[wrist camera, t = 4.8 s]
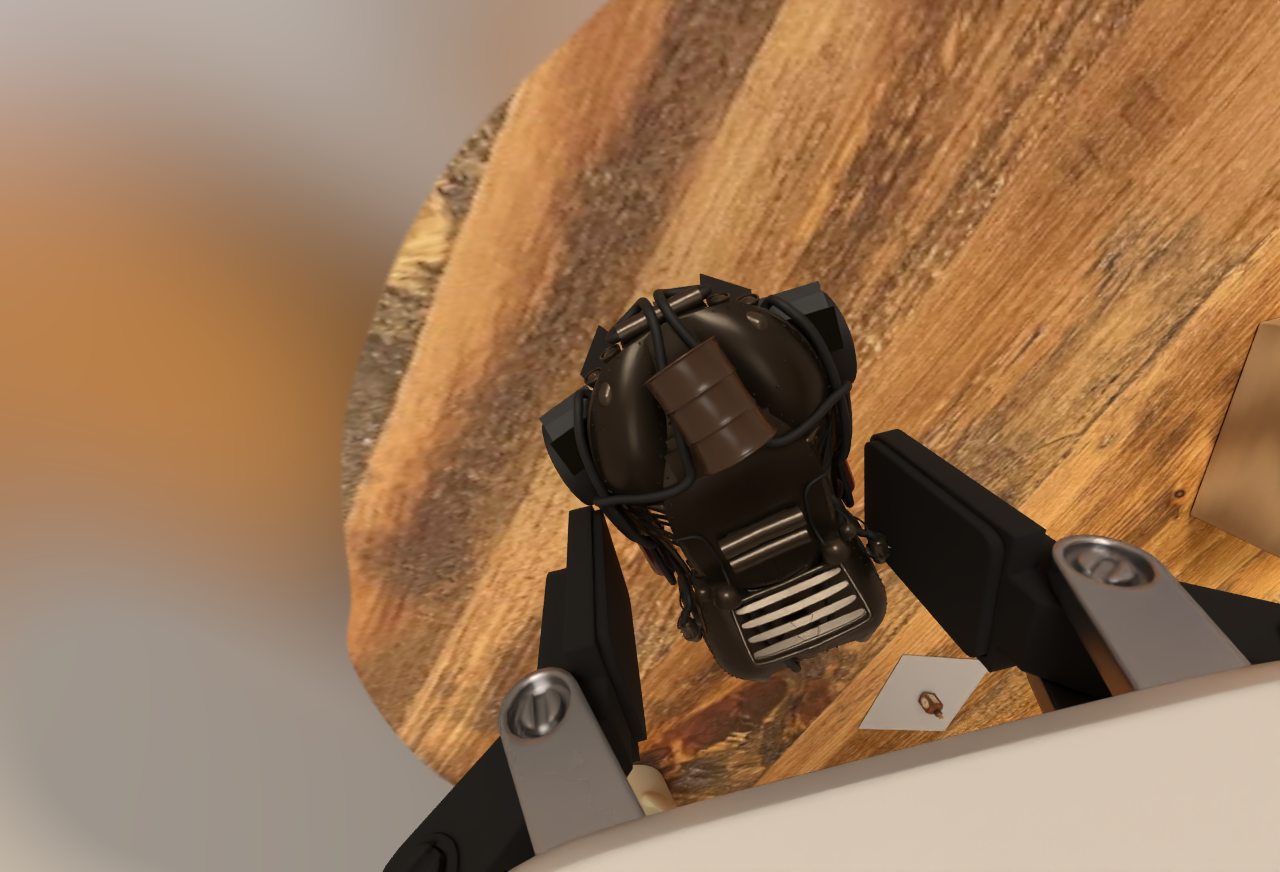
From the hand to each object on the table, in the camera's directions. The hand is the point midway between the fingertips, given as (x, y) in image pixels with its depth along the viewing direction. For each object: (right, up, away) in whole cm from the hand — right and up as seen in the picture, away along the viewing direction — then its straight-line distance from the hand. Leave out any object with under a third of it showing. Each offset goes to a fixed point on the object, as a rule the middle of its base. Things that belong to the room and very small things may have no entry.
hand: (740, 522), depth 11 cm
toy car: (0, +1, +1) cm, 1 cm away
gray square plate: (+19, -18, +24) cm, 36 cm away
